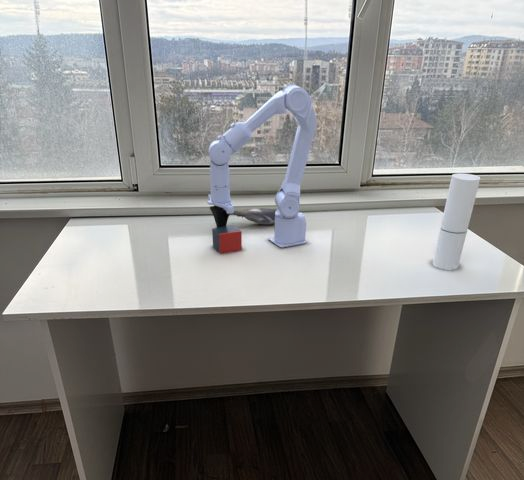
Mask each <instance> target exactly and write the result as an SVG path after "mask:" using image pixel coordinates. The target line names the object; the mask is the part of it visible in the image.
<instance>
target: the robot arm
mask: <svg viewBox="0 0 524 480" xmlns="http://www.w3.org/2000/svg"><path fill="white" fill-rule="evenodd" d="M288 112H290V113H291V114H292V117H293V118H294V121H296V123H297V128H296V132H295V136H294V140H293V144H292V148H291V153H290V156H289V160H288V164H287V169H286V171H285V176H284V180H283V181H282V183H281V185H280V188H279V190H278V191H277V192H276V194H275V197H274V202H275V205H276V207H277V208H276V209H277V210H276V212H275V223H274V237H269V238H268V240H269V241H270V242H272V243H273V244H275V245H276V246H277V247H279V248H282V249H283V248H288V247H294V246H298V245H305V244H307V241H306V235H307V234H306V233H307V219H306V216H305V215H304V214H303V212H300V209H301V204H300V198H301V185H302V180H303V177H304V174H305V169H306V166H307V162H308V160H309V159H308V158H309V155H310V151H311V147H312V143H313V140H314V135H315V132H316V128H317V124H318V120H317V117H316V112H315V108H314V103H313V98H312V97H311V96H310V94H309V92H308V91H307V90H306V89H305V88H303V87H300V86H299V85H297V84H294V83H290V84H287V85H286V86H285V87H284V88H283V89H282V90H279V91H278V92H276V93H275V94H274V95H272V96H271V97H270V98H269V99H268V100H267V101H265V103H264V104H263V105H261V107H259V109H257V111H255V112H254V113H253V114H252V115H251V116H250V117H249V118H248V119H246V120H245V121H237V122H232V123H231V124H230V128H229V129H228V130H227V131H225V132H224V133H223V134H222V135H218V136H217V140H213V141H212V142H211V143H210V144H209V146H208V150H207V153H208V156H209V186H210V188H209V189H210V193H209V194H208V195H207V198H208V200H207V202H206V203H207V205H209V210H210V212H211V213H212V216H213V218H214V222H215V225H216V228H219V227H225V226H228V225H227V224H228V220H229V217H230V215H231V214H233V213H234V211H235V206H234V205H233V204H232V200H231V186H230V185H231V181H230V180H231V179H230V178H231V177H230V167H229V162H230V160H231V155H234V154H236V152H238V151H239V150H240V149H242V148H243V147H244V146H245V145H247V143H249V142H250V141H251V140H252V134H253V133H254V132H255V131H256V130H257V129H258V128H260V127H261V126H263V124H265V123H266V122H268V120H270V119H271V118H272V117H274V116H276V115H282V114H287V113H288Z"/></svg>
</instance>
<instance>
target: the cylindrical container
mask: <svg viewBox="0 0 524 480" xmlns="http://www.w3.org/2000/svg"><path fill="white" fill-rule="evenodd" d="M449 182H450V183H449V187H448V192H447V195H446V202H445V204H444V205H445V206H444V210H443V214H442V218H441V223H440V228H439V233H438V238H437V240H436V241H437V242H436V246H435V251H434V254H433V260H432V265H433V266H434V267H435V268H438V269H440V270H445V271H452V270H453V271H455V270H457V269H458V268H459V265H460V262H461V257H462V253H463V249H464V246H465V242H466V237H467V233H468V230H469V225H470V221H471V217H472V214H473V209H474V206H475V202H476V197H477V192H478V191H479V185H480V182H481V177H480V175H479V176H478V175H476V174H471V173H461V172H460V173H453V174H452V175H451V178H450V181H449Z"/></svg>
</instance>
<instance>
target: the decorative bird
mask: <svg viewBox="0 0 524 480" xmlns="http://www.w3.org/2000/svg"><path fill="white" fill-rule="evenodd" d="M276 210H277V208H264V207H261V208H247V209H243V210H234V213H232V214H233V215H234V216H237V217H238V218H242V219H243V218H244V219H246V220H248V221H250V222H253V223H256V224H259V225H273V224H274V225H275V212H276Z"/></svg>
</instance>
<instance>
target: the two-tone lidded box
mask: <svg viewBox="0 0 524 480" xmlns="http://www.w3.org/2000/svg"><path fill="white" fill-rule="evenodd" d="M211 229H212V230H211V232H212V233H211V234H212V248H213V249H214V250H215V251H217V252H218V253H219V254H221V255H222V254H227V253H228V254H229V253H233V252H234V253H235V252H239V251H242V250H243V249H242V248H243V247H242V246H243V241H242V235H243V233H242V232H243V231H242V230H240V228H238V227H236V226H235V225H233V224H231V225H226V226H225V227H219V228H217V227H213V228H211Z"/></svg>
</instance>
